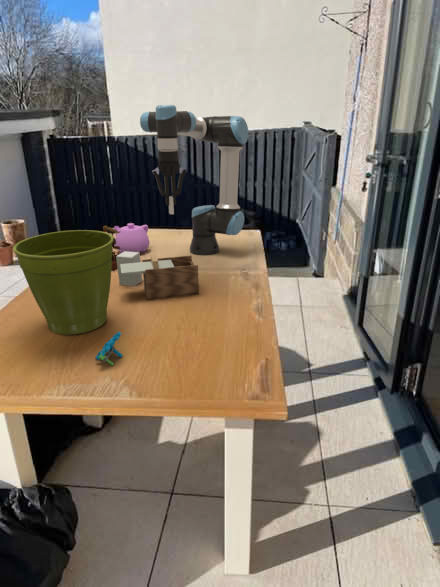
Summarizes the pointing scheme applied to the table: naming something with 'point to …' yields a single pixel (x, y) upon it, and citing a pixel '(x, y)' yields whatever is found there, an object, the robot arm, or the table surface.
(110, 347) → the blue angular piece
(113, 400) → the table surface
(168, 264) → the lid
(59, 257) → the plant pot
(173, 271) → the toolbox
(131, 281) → the supplement box
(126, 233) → the pink piggy bank
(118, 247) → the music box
